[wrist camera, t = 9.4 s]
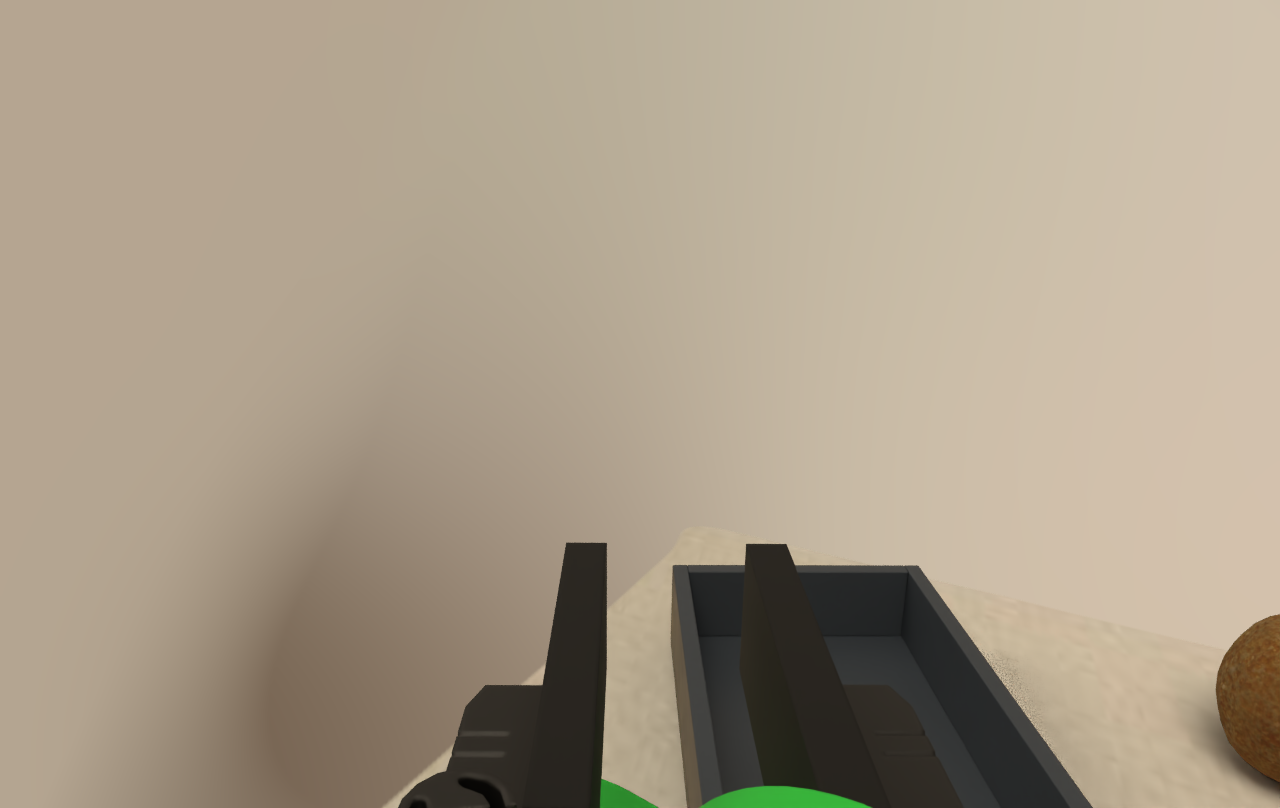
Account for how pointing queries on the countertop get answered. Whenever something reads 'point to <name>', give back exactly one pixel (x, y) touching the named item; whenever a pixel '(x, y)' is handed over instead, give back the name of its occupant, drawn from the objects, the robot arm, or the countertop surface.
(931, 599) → the dark grey open tray
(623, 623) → the countertop surface
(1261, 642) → the fruit
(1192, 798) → the countertop surface
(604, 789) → the mechanical part
